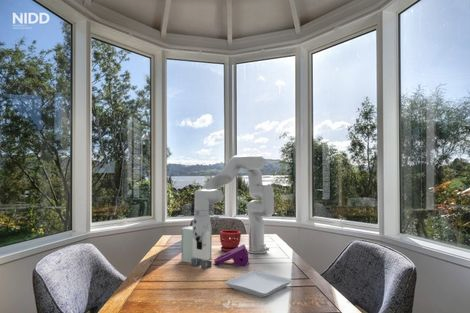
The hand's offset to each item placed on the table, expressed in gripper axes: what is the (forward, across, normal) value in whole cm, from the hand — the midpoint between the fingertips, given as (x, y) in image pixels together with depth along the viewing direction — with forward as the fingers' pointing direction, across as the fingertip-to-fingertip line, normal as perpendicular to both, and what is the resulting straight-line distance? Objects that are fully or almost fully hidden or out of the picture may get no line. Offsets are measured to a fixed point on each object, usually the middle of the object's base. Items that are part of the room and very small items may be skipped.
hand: (201, 248), depth 164 cm
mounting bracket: (+10, +13, -10) cm, 19 cm away
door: (+5, 0, 0) cm, 5 cm away
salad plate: (+10, -8, -40) cm, 42 cm away
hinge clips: (+9, 0, 0) cm, 9 cm away
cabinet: (+9, +9, +11) cm, 17 cm away
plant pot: (+9, +37, +8) cm, 39 cm away
